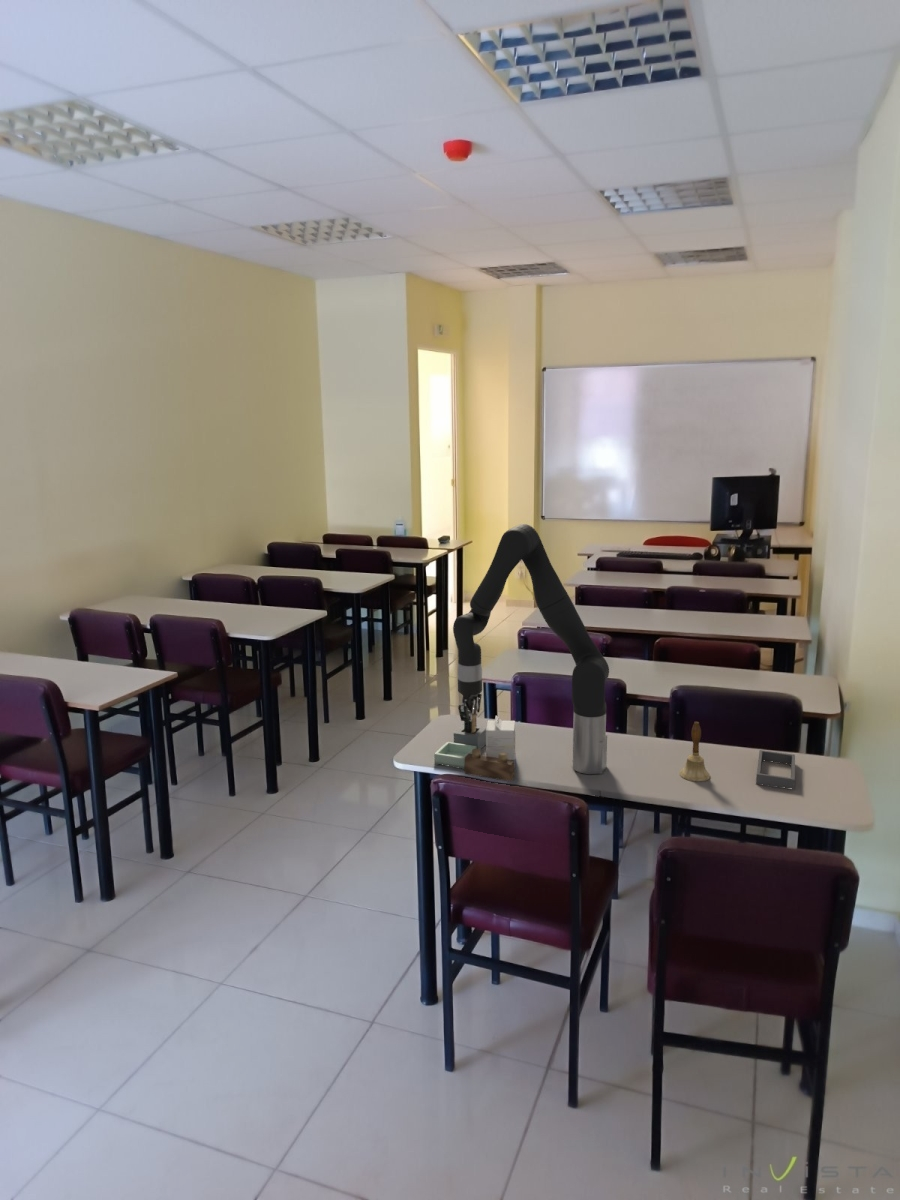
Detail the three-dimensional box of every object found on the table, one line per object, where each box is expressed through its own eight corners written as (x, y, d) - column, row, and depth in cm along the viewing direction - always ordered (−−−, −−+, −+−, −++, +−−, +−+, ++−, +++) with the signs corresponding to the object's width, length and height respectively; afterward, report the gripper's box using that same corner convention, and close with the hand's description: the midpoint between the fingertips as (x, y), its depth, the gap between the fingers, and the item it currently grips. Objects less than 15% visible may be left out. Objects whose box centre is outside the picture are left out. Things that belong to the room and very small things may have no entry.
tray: (476, 756, 240) (476, 746, 239) (464, 769, 232) (464, 758, 231) (447, 751, 244) (447, 741, 243) (434, 764, 235) (434, 753, 235)
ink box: (514, 768, 231) (514, 725, 228) (485, 767, 232) (485, 724, 229) (515, 756, 240) (515, 714, 237) (487, 755, 241) (487, 714, 238)
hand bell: (689, 783, 220) (692, 729, 217) (673, 771, 228) (676, 718, 225) (716, 779, 222) (719, 725, 219) (699, 767, 230) (702, 715, 227)
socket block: (487, 742, 251) (487, 727, 249) (478, 752, 243) (477, 736, 242) (463, 738, 254) (463, 724, 253) (453, 748, 246) (453, 733, 245)
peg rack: (514, 777, 226) (514, 754, 224) (511, 781, 223) (511, 758, 222) (468, 769, 231) (468, 746, 230) (464, 773, 229) (464, 750, 227)
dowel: (477, 744, 249) (477, 713, 247) (474, 748, 246) (473, 717, 244) (467, 742, 251) (467, 712, 248) (463, 746, 248) (463, 716, 245)
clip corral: (794, 764, 231) (795, 754, 231) (793, 789, 215) (794, 779, 215) (758, 759, 235) (759, 749, 234) (755, 784, 219) (756, 774, 218)
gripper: (472, 685, 236) (473, 740, 240) (489, 671, 248) (489, 723, 252) (449, 682, 239) (450, 736, 243) (467, 669, 251) (467, 720, 255)
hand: (470, 729), depth 247 cm, fingers closed on dowel, 3 cm apart
